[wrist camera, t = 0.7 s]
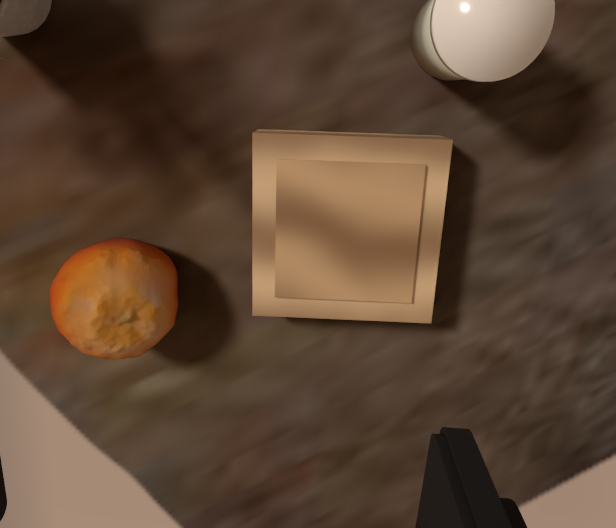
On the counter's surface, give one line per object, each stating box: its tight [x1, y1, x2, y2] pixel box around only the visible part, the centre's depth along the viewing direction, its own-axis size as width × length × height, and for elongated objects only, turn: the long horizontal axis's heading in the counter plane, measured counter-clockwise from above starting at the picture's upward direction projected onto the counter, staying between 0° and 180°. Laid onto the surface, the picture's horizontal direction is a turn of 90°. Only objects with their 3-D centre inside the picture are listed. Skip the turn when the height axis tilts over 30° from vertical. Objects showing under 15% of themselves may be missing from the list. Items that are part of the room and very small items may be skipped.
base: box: [252, 129, 453, 323], centre depth 34 cm, size 12×12×3 cm
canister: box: [411, 0, 555, 82], centre depth 28 cm, size 6×6×8 cm
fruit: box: [50, 238, 178, 359], centre depth 35 cm, size 8×8×8 cm
